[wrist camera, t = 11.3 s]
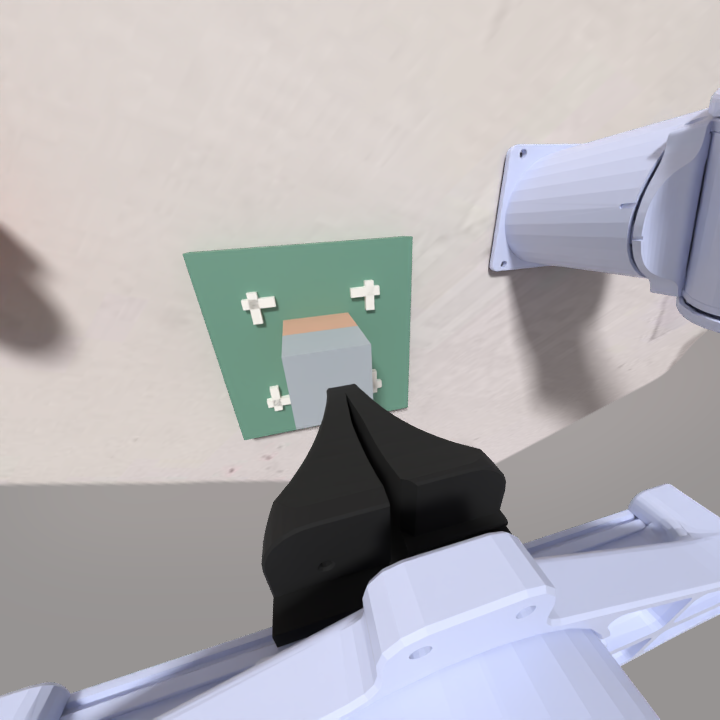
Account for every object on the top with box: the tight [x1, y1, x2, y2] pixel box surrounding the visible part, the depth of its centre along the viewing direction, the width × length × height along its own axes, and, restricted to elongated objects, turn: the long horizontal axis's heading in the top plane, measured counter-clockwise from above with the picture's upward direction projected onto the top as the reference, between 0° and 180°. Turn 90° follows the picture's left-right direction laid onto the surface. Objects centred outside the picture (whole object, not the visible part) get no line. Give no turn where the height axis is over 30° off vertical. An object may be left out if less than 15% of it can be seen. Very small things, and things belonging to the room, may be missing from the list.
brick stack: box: [281, 312, 373, 430], centre depth 17 cm, size 4×4×6 cm
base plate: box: [183, 236, 413, 440], centre depth 20 cm, size 14×14×2 cm
